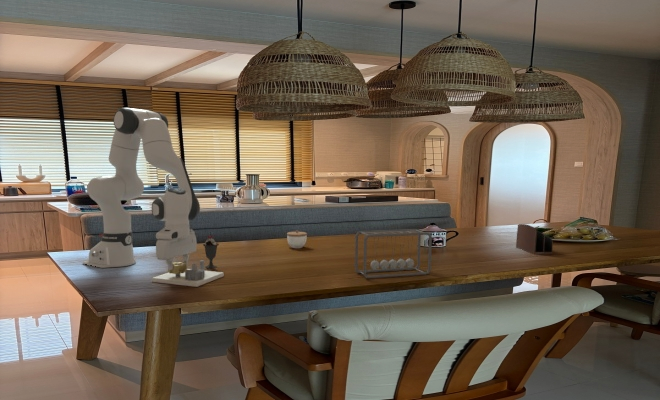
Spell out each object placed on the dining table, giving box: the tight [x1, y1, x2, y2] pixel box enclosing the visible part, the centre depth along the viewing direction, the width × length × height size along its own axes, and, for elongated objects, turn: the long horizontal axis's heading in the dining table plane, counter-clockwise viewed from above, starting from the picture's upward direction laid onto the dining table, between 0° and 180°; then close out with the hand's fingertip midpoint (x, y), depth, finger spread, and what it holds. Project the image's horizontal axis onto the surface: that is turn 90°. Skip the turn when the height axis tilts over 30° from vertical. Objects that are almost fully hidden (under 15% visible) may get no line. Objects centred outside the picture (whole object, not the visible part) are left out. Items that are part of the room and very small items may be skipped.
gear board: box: [151, 259, 225, 288], centre depth 189 cm, size 20×18×7 cm
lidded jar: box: [286, 229, 308, 249], centre depth 261 cm, size 11×11×9 cm
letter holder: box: [515, 223, 554, 255], centre depth 258 cm, size 10×20×14 cm, turn 6°
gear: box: [167, 261, 188, 274], centre depth 186 cm, size 7×7×3 cm
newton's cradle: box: [354, 228, 433, 280], centre depth 201 cm, size 30×10×18 cm, turn 108°
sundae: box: [202, 232, 220, 269], centre depth 210 cm, size 7×7×15 cm
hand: (177, 267), depth 186 cm, fingers closed on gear, 6 cm apart
